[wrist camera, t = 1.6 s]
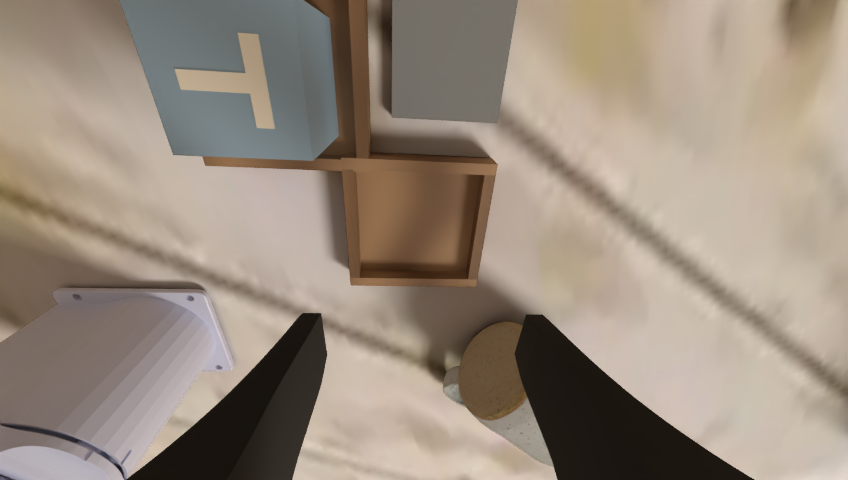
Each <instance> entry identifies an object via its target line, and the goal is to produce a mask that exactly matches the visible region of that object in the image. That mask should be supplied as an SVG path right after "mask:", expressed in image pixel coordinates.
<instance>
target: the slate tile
mask: <svg viewBox="0 0 848 480" xmlns="http://www.w3.org/2000/svg"><path fill="white" fill-rule="evenodd" d="M517 2H518V0H392V118H411V119H429V120H448V121H466V122H485V123H497V122H498V116H499V110H500V104H501V98H502V92H503V86H504V80H505V74H506V68H507V62H508V56H509V50H510V44H511V38H512V32H513V26H514V20H515V14H516V8H517Z"/></svg>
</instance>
